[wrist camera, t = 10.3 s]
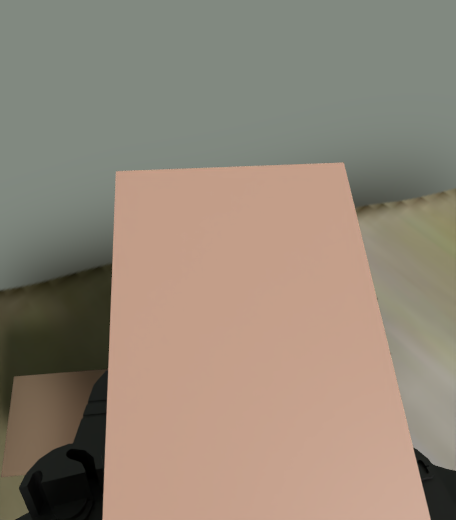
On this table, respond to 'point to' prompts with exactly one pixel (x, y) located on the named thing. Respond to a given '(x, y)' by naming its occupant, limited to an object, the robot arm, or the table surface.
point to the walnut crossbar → (44, 416)
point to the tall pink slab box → (250, 354)
